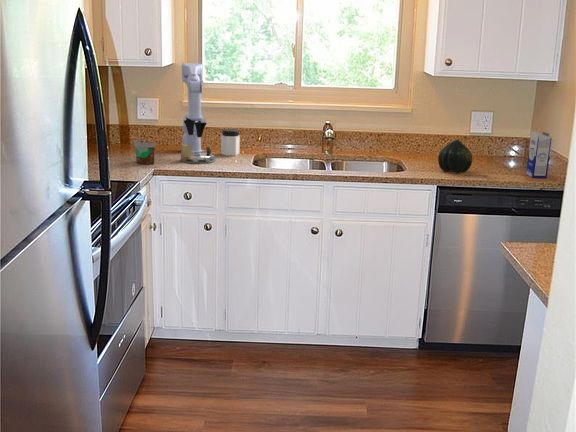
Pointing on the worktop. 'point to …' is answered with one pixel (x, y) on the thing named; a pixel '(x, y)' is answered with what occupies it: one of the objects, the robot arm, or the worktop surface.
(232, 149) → the jar
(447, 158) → the squash
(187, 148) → the beige upright block
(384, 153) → the worktop surface
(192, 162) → the base plate
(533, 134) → the milk carton
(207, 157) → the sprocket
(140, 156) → the food container
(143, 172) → the worktop surface
